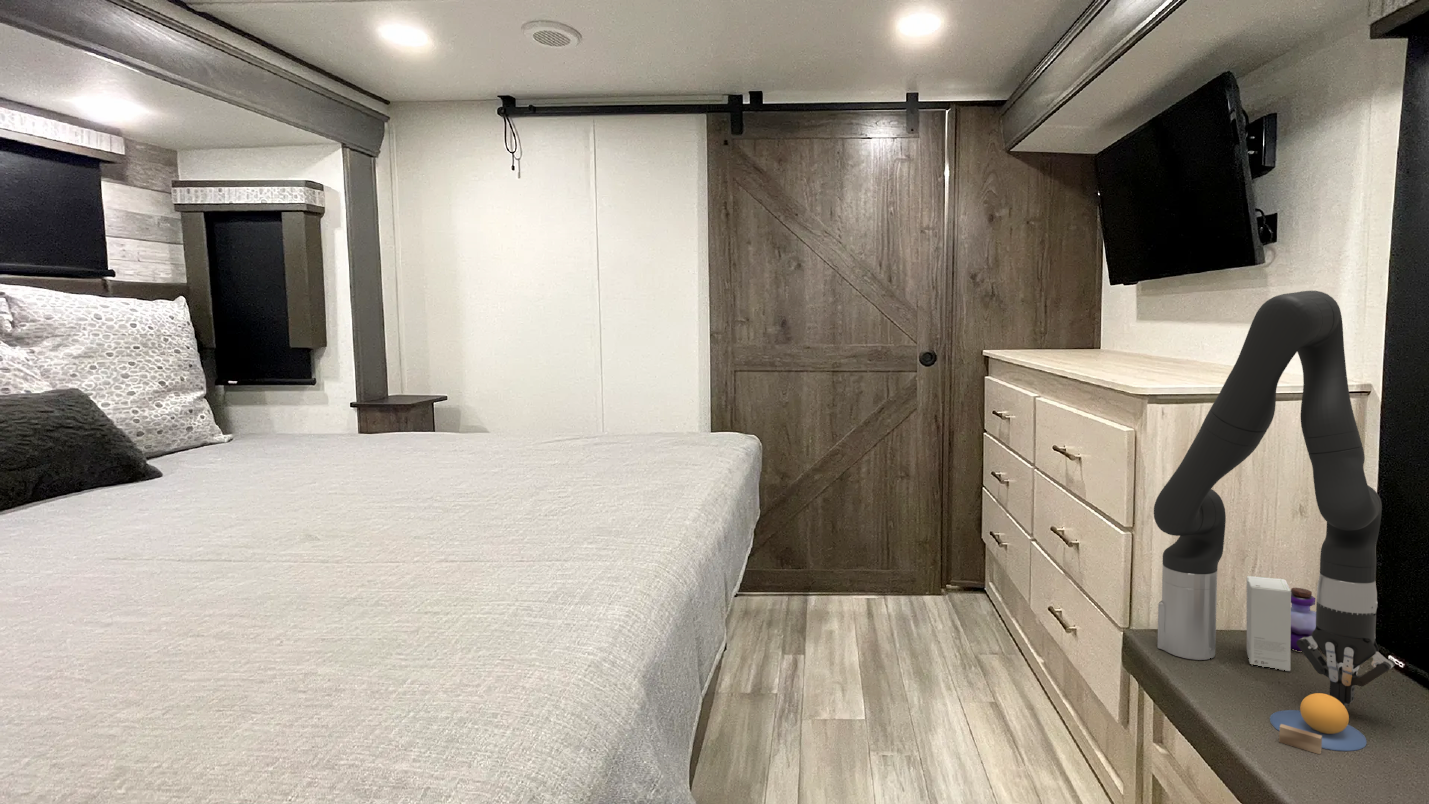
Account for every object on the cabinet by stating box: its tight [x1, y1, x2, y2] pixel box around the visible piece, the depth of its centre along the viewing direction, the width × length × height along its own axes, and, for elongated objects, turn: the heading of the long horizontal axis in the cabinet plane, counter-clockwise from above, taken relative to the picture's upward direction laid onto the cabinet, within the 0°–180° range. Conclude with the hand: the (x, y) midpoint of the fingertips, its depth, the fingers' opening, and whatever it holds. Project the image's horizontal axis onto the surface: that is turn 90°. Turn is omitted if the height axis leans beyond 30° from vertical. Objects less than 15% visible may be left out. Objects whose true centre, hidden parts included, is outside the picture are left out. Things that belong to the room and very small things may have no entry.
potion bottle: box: [1290, 587, 1316, 651], centre depth 148 cm, size 9×9×12 cm
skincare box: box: [1246, 575, 1292, 672], centre depth 142 cm, size 8×7×16 cm
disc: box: [1269, 709, 1367, 752], centre depth 118 cm, size 12×12×1 cm
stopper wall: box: [1278, 724, 1323, 755], centre depth 114 cm, size 5×1×2 cm, turn 43°
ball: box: [1299, 692, 1350, 734], centre depth 118 cm, size 6×6×6 cm
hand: (1341, 703), depth 123 cm, fingers closed
